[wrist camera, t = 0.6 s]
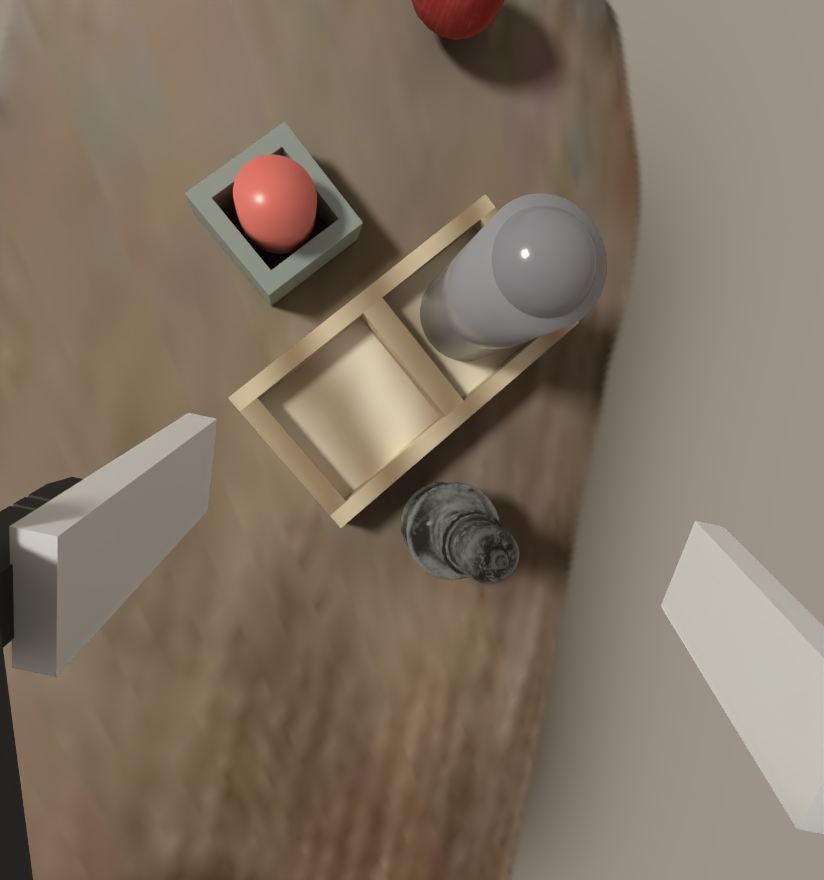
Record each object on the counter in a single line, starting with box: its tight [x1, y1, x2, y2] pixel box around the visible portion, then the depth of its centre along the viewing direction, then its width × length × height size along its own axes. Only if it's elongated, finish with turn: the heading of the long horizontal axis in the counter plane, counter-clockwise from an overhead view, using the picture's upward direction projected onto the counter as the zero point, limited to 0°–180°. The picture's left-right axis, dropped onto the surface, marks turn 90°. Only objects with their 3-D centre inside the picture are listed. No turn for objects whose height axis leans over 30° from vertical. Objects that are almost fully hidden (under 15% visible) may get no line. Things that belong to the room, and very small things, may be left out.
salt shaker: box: [401, 482, 519, 584], centre depth 32 cm, size 6×6×12 cm
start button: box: [233, 155, 317, 254], centre depth 32 cm, size 4×4×3 cm
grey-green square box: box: [185, 122, 363, 306], centre depth 34 cm, size 7×7×3 cm
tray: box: [229, 194, 579, 528], centre depth 36 cm, size 20×10×2 cm, turn 130°
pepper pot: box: [420, 193, 607, 361], centre depth 30 cm, size 6×6×14 cm
